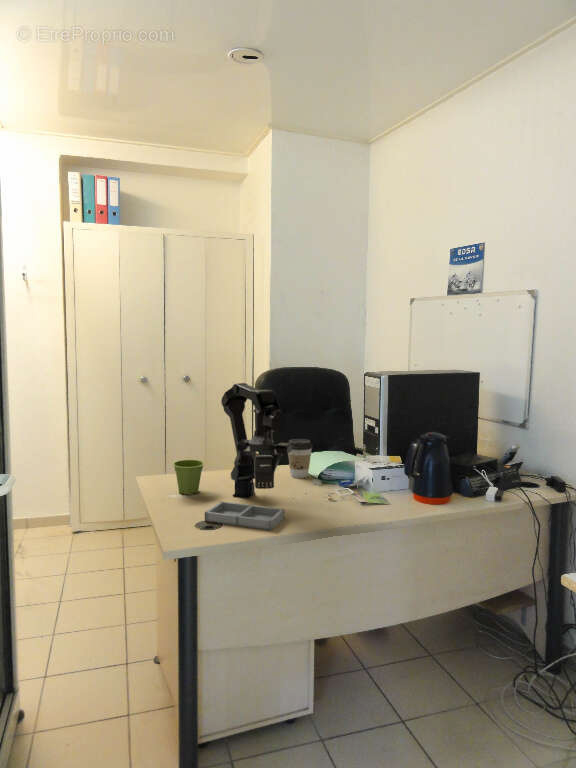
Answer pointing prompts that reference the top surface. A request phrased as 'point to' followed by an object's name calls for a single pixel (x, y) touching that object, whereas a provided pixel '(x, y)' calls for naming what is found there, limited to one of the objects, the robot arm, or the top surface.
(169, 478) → the top surface
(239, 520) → the divided tray
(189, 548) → the top surface
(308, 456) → the coffee cup
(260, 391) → the robot arm
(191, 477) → the plant pot
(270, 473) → the battery charger
